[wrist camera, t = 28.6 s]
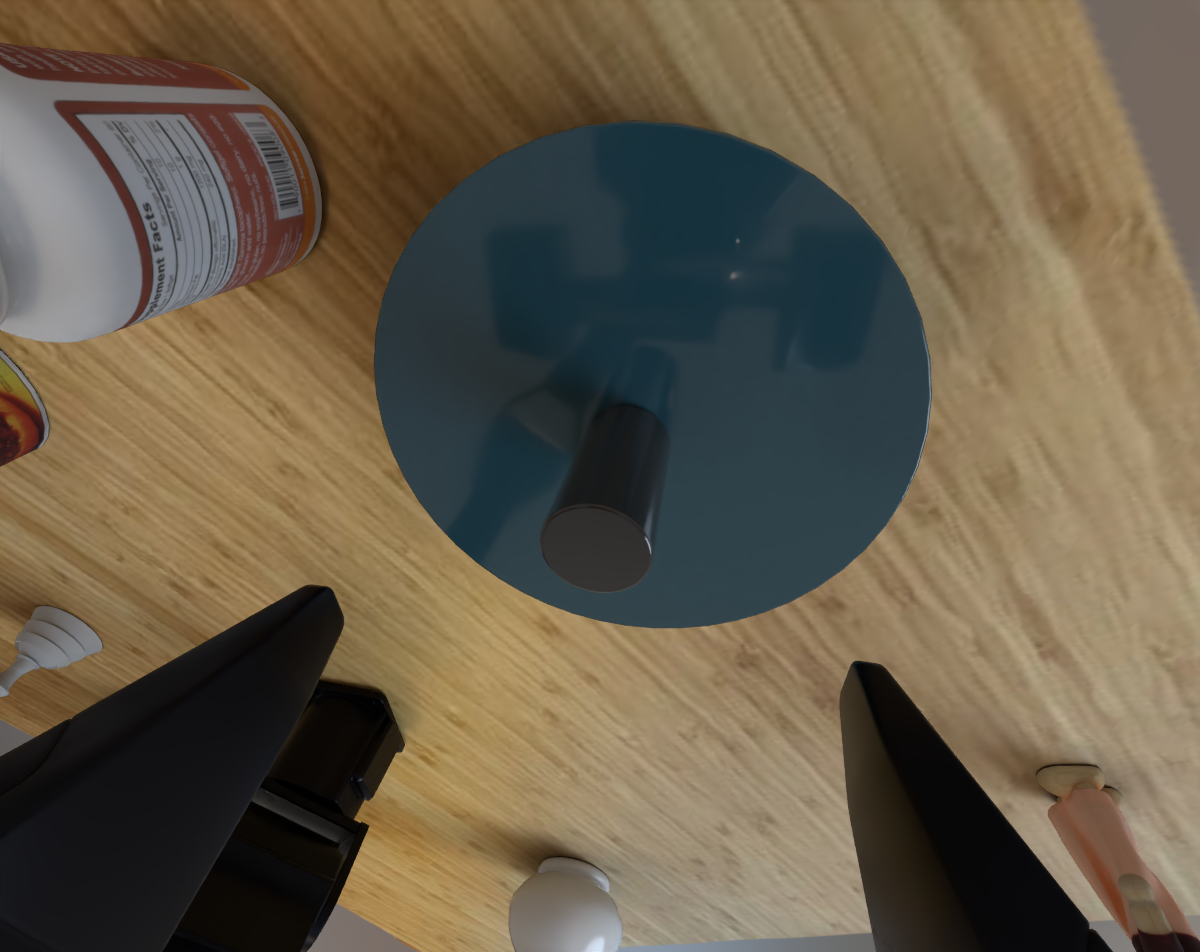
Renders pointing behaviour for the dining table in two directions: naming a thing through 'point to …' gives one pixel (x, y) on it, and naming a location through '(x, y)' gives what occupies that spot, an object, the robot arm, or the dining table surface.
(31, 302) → the pill bottle
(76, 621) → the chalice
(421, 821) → the dining table surface
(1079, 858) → the grandmother figurine
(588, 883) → the flower vase
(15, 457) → the canned food
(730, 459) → the lid
